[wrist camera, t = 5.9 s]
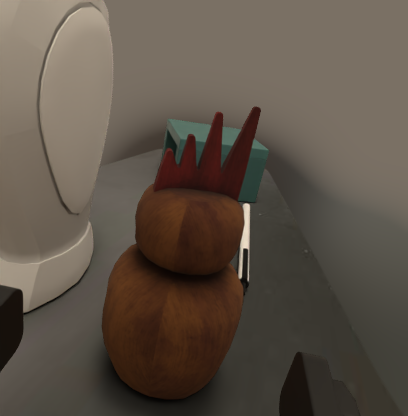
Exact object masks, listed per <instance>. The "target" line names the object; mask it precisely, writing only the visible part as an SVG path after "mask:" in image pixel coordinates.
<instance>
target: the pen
mask: <svg viewBox="0 0 408 416" xmlns="http://www.w3.org/2000/svg"><path fill="white" fill-rule="evenodd" d="M242 209H243V210H244V221H245V225H244V230H243V235H242V239H241V242H240V254H239V269H238V277H239V279H240V281H241V284H242V286H243V296H244V295H245V288H247V287H248V286H249V235H250V205H249V203H248V202H247V201H246V202H245V203H244V204H243V208H242Z"/></svg>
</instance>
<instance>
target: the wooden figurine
mask: <svg viewBox="0 0 408 416" xmlns="http://www.w3.org/2000/svg"><path fill="white" fill-rule="evenodd" d="M260 112H261V110H260V108H259V107H253V108H252V110H251V112H250V114H249V116H248V118H247V120H246V121H245V123H244V125H243V127H242V129H241V131H240V133H239V135H238V136H237V138H236V140H235V142H234V144H233V146H232V148H231V150H230V151H229V153H228V155H227V157H226V159H225V161H224V163H223V165H222V167H221V153H222V130H223V114H222V113H221V112H216V114H215V117H214V120H213V123H212V125H211V128H210V131H209V134H208V137H207V140H206V142H205V145H204V148H203V151H202V154H201V157H200V160H199V163H198V166H197V163H196V138H195V136H194V135H193V134H188V136H187V139H186V143H185V146H184V149H183V152H182V155H181V159H180V162H179V164H176V161H175V157H174V154H173V151H172V149H170V148H168V149H166V151H165V154H164V156H163V159H162V161H161V164H160V167H159V170H158V173H157V176H156V179H155V182H154V184H152V185H150V186H149V187H148V188H147V189H146V191H145V192H144V194H143V195H142V197H141V199H140V201H139V203H138V206H137V211H136V216H135V220H136V234H135V238H136V242H137V244H134V245H132V246H130V247H129V248H128V249H127V250H126V251H125V252H124V253H123V254H122V255H121V257H120V258H119V259H118V261H117V262H116V263H115V265H114V268H113V270H112V272H111V274H110V277H109V281H108V288H107V294H106V299H105V303H104V308H103V317H102V332H103V338H104V344H105V347H106V349H107V352H108V354H109V357H110V359H111V361H112V364H113V366H114V368H115V370H116V372H117V374H118V375H119V377H120V379H121V380H122V381H124V382H125V383H126V384H127V385H129V386H130V387H131V388H132V389H134V390H136V391H138V392H140V393H143V394H145V395H147V396H150V397H155V398H161V399H183V398H185V397H187V396H190V395H192V394H194V393H196V392H197V391H199V390H200V389H201V388H203V387H204V386H205V385H206V384H207V383H208V382H209V381H210V380H211V379H212V378H213V377H214V375H215V374H216V372H217V370H218V368H219V367H220V365H221V363H222V361H223V359H224V357H225V356H226V354H227V352H228V350H229V348H230V346H231V343H232V341H233V338H234V335H235V333H236V329H237V326H238V323H239V320H240V316H241V311H242V305H243V286H242V284H241V281H240V279H239V277H238V275H237V273H236V271H235V269H234V268H233V266H232V265H231V264H230V263H229V262H230V261H231V260H232V258H233V257H234V256H235V254H236V252H237V250H238V247H239V245H240V242H241V239H242V235H243V230H244V225H245V221H244V210H243V209H242V207H241V206H240V204H239V203H238V198H239V194H240V191H241V187H242V184H243V180H244V177H245V173H246V169H247V165H248V161H249V157H250V153H251V149H252V145H253V141H254V137H255V133H256V129H257V124H258V120H259V116H260Z"/></svg>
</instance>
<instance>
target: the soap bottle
mask: <svg viewBox="0 0 408 416" xmlns="http://www.w3.org/2000/svg"><path fill="white" fill-rule="evenodd" d="M112 93H113V50H112V40H111V35H110V30H109V18H108V10H107V8H106V5H105V3H104V1H103V0H0V285H4V286H9V287H13V288H18V289H21V290H22V292H23V313H25V312H29V311H31V310H33V309H34V308H36V307H38V306H40V305H42V304H44V303H46V302H48V301H50V300H52V299H54V298H56V297H58V296H59V295H61V294H62V293H63V292H65V291H66V290H67V289H69V288H70V287H72V286H73V285H74V284H76V283H77V282H78V281H79V280H80V278H81V277H82V275H83V274H84V272H85V271H86V269H87V268H88V266H89V264H90V260H91V256H92V253H93V249H94V248H93V233H92V226H91V223H90V222H89V221H88V218H89V214H90V208H91V202H92V197H93V191H94V185H95V182H96V178H97V174H98V170H99V166H100V162H101V157H102V153H103V148H104V143H105V138H106V133H107V128H108V122H109V116H110V110H111V102H112Z"/></svg>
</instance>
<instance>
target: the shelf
mask: <svg viewBox="0 0 408 416" xmlns="http://www.w3.org/2000/svg"><path fill="white" fill-rule="evenodd" d="M210 128H211V125H207V124H201V123H194V122H187V121H180V120H173V119H168V120H167V128H166V134H165V140H164V146H163V153H162V159H163V156H164V154H165V151H166V149H168V148H170V149H172V151H173V154H174V157H175V161H176V164H179V162H180V159H181V155H182V152H183V149H184V146H185V143H186V139H187V136H188V134H193V135H194V136H195V138H196V163H197V166H198V163H199V160H200V157H201V154H202V151H203V148H204V145H205V142H206V140H207V137H208V134H209V131H210ZM240 131H241V129H235V128H228V127H223V130H222V153H221V167H222V165H223V163H224V161H225V159H226V157H227V155H228V153H229V151H230V150H231V148H232V146H233V144H234V142H235V140H236V138H237V136H238V135H239V133H240ZM268 153H269V150H268V149H267V148H265V147H264V146H263V145H261V144H260V143H259V142H258V141H256V140H255V139H254V141H253V145H252V149H251V153H250V157H249V161H248V165H247V169H246V173H245V177H244V180H243V184H242V187H241V191H240V194H239V198H238V201H243V202H246V201H247V202H255V200H256V197H257V193H258V189H259V186H260V182H261V178H262V175H263V171H264V167H265V164H266V159H267V156H268ZM161 161H162V160H161Z"/></svg>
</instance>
